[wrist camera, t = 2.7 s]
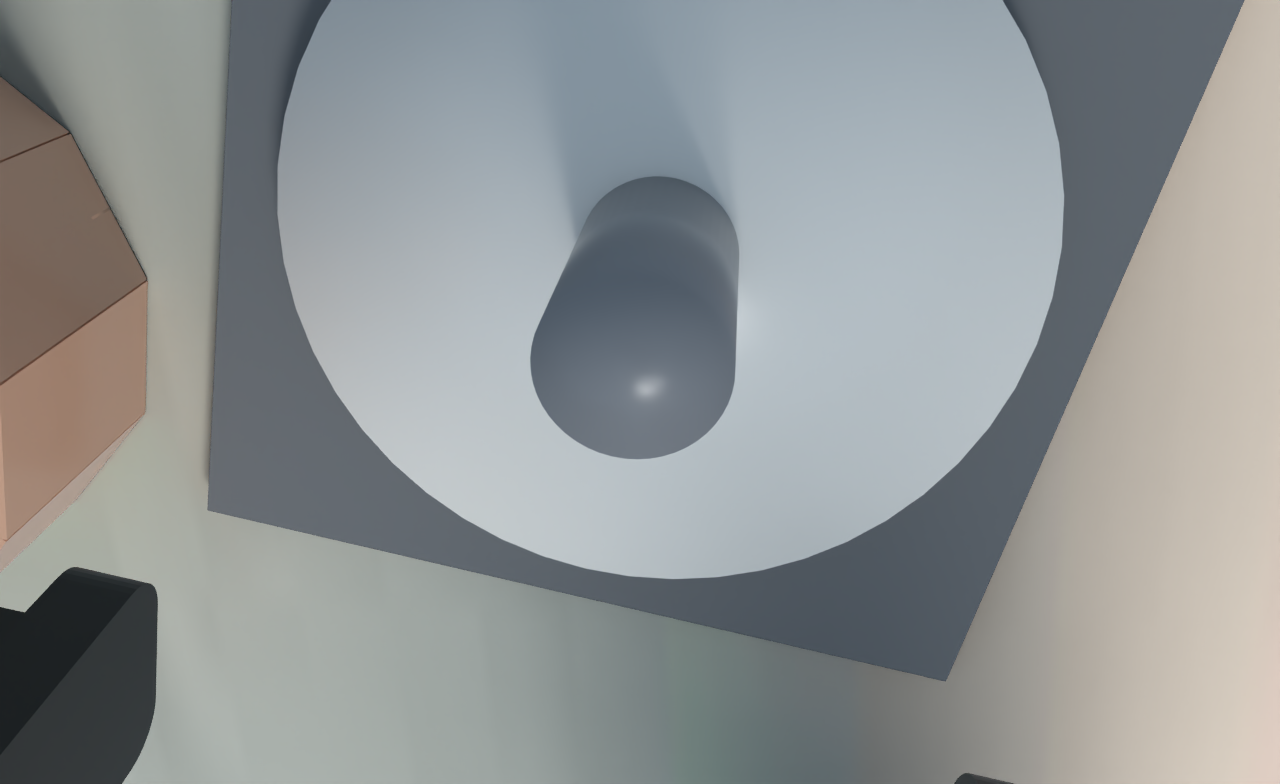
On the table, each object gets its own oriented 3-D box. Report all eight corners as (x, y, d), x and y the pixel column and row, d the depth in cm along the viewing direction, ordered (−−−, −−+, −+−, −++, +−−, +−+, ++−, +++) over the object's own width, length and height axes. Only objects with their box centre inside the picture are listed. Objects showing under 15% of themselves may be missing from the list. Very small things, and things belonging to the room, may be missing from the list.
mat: (1288, -133, 21) (1302, -133, 21) (942, 666, 30) (945, 681, 30) (263, -383, 21) (250, -389, 21) (217, 498, 30) (207, 510, 29)
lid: (1189, -68, 21) (1363, -37, 15) (910, 625, 29) (951, 831, 23) (323, -275, 21) (150, -328, 15) (267, 476, 29) (137, 643, 23)
